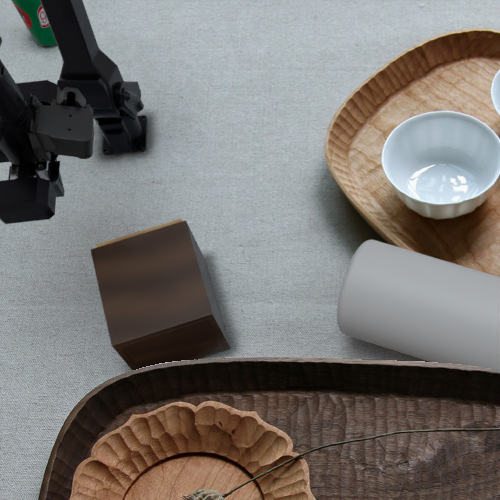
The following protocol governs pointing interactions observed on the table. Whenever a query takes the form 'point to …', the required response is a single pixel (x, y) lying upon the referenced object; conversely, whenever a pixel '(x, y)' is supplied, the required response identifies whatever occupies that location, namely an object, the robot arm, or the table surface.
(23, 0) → the soda can
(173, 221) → the drawer
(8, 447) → the table surface
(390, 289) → the cylinder vase
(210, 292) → the cabinet
